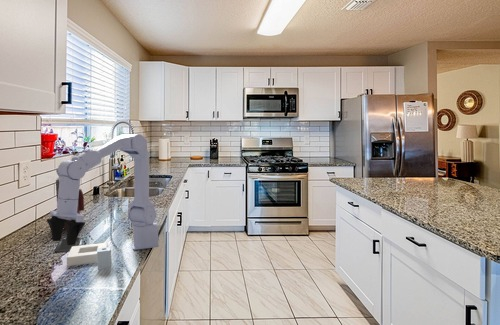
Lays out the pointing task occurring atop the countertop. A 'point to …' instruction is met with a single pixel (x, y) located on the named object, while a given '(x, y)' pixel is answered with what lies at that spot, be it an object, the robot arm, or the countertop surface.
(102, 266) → the block
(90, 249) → the block
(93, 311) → the countertop surface
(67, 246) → the phone
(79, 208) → the dark red french press
